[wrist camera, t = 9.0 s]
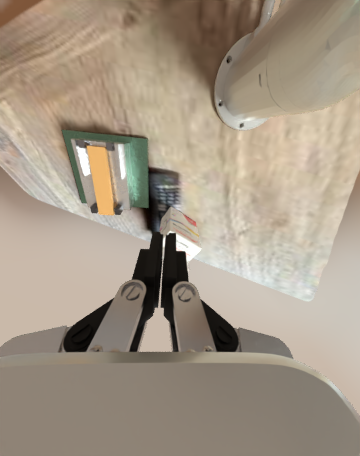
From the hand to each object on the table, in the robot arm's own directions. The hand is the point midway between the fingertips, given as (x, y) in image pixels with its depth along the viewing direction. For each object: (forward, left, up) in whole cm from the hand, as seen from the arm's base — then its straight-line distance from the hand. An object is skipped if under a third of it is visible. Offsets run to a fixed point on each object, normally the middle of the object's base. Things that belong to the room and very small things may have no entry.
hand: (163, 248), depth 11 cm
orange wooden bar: (+3, -13, -21) cm, 25 cm away
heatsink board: (+2, -13, -27) cm, 30 cm away
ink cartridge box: (+13, +3, -27) cm, 30 cm away
